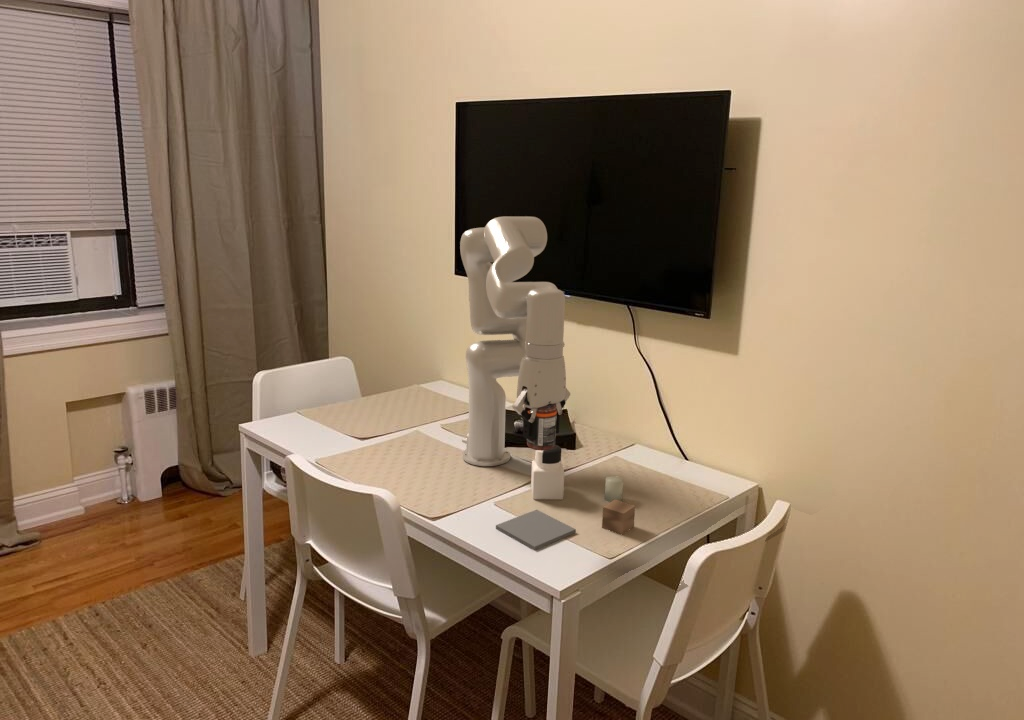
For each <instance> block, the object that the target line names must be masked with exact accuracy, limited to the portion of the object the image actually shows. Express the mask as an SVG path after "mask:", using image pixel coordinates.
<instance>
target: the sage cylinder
mask: <svg viewBox="0 0 1024 720" xmlns="http://www.w3.org/2000/svg"><path fill="white" fill-rule="evenodd" d="M623 485H624V479H623V478H622V477H620V476H616V475H609V476H606V477H605V485H604V501H606V502H607V503H610V502H612V501H613V500H615V499H616V500H619V501H622V502H623V491H624V490H623V488H624V486H623Z"/></svg>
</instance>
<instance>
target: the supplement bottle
mask: <svg viewBox="0 0 1024 720" xmlns="http://www.w3.org/2000/svg"><path fill="white" fill-rule="evenodd" d="M550 402H551V401H550ZM550 402H548V403H550ZM530 412H531V409H530V408H529V411H528V413H529V414H530ZM556 419H557V407H556V405H555V404H548V405H546V406H544V407H541V408H538V409H537V413H536V416H535V419H534V422H536V439H535V440H534V441H531V440H529V439H526V445H527V447H529V449H531V450H533V451H536V450H541V451H545V450H550V449H552V448H554V446H555V444H556V440H557V439H556V438H557V437H556V436H557V434H556Z"/></svg>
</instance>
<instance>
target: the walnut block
mask: <svg viewBox="0 0 1024 720" xmlns="http://www.w3.org/2000/svg"><path fill="white" fill-rule="evenodd" d="M635 514H636V505H633V504H630V503H628V502H625V501H623V500H622V501H619V500H616V499H615V500H613V501H612V502H607V503H606V505H604V506H602V520H601V529H604V530H607V531H609V530H610V532H612V531H613V533H615V532H616V533H615V534H618V535H621V534H622V535H621V536H623V535H625V534H626V533H628V532H629V531H630V530H632V529H633V528H634V527H635V516H636V515H635ZM632 527H633V528H632ZM629 529H630V530H629ZM628 530H629V531H628ZM625 532H626V533H625Z"/></svg>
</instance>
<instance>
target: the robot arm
mask: <svg viewBox="0 0 1024 720" xmlns="http://www.w3.org/2000/svg"><path fill="white" fill-rule="evenodd" d="M547 242H548V232H547V228H546V225H545V224H544V222H543V221H542V220H541V219H540V218H538V217H536V216H512V215H511V216H504V215H503V216H498V217H494V218H492V219H491V220H489V221H488V222H487V223H486V225H485V226H484V227H476V228H475V227H474V228H470V229H468V230H465V231H464V232H463V233H462V235H461V238H460V241H459V245H460V246H459V249H460V257H461V261H462V265H463V267H464V270H465V273H466V276H467V280H468V300H469V301H468V302H469V320H470V327H471V329H472V331H473V332H474V334H476V335H480V336H496V335H499V336H501V335H502V336H503V335H512V337H513V339H494V340H493V339H491V340H490V339H489V340H478V341H476V342H475V341H474V342H473V343H471V344H469V346H468V347H467V349H466V352H465V364H466V370H467V371H466V372H467V377H468V433H467V434H466V435H465V437H462V439H461V442H462V443H463V444H465V445H466V448H465V449H464V450H463V452H462V455H461V456H462V459H463V461H464V462H466V463H468V464H471V465H473V466H480V467H494V466H500V465H503V464H506V463H507V462H509V461H510V459H511V452H510V450H508V449H506V447H505V445H506V444H505V441H506V439H505V438H506V436H505V435H506V407H507V406H506V404H507V403H506V399H507V397H506V392H505V389H504V388H503V386H502V385H501V384H500V383H499V382H498V381H497V379H498V378H500V379H501V378H509V377H517V385H516V387H517V388H516V400H515V401H514V403H513V405H512V410H514V411H515V412H516V413H517V415H518V416H519V417H520V420H522V423H523V424H522V428H523V429H522V437H523V438H524V439H526V440H527V439H529V440H531V441H534V440H535V439H536V422H534V419H535V416H536V413H537V409H538V408H541V407H544V406H546V405H548V404H555V405H556V407H557V419H556V435H558V434H559V433H560V415H562V413H563V408H564V407H565V405H566V402H567V401H568V399H570V396H571V392H570V391H569V390H568V388H567V375H566V374H567V373H566V362H565V357H564V347H565V341H564V332H565V310H566V309H565V307H566V295H565V293H564V291H563V290H561V289H558V287H557V286H556V285H555V284H554V283H553V282H550V281H517V280H519V279H521V278H524V276H526V275H527V274H528V273H529V272H530V271H531V270H532V269H533V266H534V263H535V257H537V256H538V255H540V254H541V253H542V252H543V251H544V250H545V248H546V246H547V244H548V243H547ZM550 401H551V402H550ZM548 402H550V403H548ZM529 408H530V409H531V412H530V414H529V413H528V411H529Z"/></svg>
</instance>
